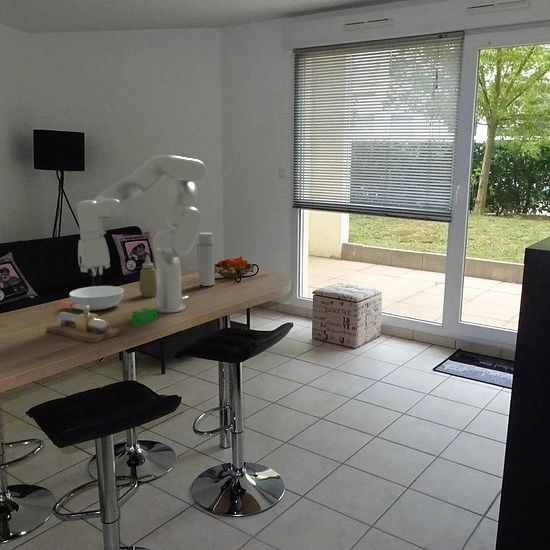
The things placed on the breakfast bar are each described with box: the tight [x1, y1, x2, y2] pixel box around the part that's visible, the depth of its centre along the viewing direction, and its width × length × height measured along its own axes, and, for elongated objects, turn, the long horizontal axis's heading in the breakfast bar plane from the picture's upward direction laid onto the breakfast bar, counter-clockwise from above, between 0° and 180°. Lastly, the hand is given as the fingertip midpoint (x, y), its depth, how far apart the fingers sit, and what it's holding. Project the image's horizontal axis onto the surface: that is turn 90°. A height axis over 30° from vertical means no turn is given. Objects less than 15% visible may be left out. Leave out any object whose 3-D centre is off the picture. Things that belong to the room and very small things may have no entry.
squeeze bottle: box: [139, 254, 157, 298], centre depth 252 cm, size 8×8×18 cm
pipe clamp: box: [131, 307, 158, 327], centre depth 213 cm, size 11×4×5 cm, turn 145°
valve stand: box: [46, 322, 122, 344], centre depth 200 cm, size 12×24×2 cm, turn 58°
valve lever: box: [58, 300, 91, 315], centre depth 200 cm, size 13×3×3 cm, turn 59°
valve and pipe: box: [57, 311, 110, 334], centre depth 199 cm, size 5×22×5 cm, turn 58°
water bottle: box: [194, 232, 215, 286], centre depth 272 cm, size 9×8×25 cm
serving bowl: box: [68, 285, 125, 311], centre depth 233 cm, size 21×21×7 cm
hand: (97, 285), depth 209 cm, fingers closed
